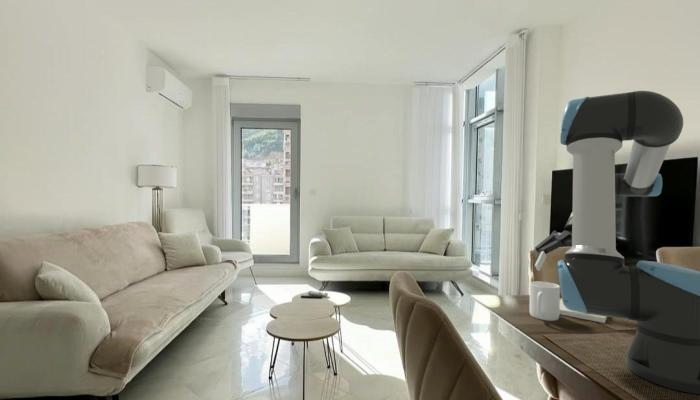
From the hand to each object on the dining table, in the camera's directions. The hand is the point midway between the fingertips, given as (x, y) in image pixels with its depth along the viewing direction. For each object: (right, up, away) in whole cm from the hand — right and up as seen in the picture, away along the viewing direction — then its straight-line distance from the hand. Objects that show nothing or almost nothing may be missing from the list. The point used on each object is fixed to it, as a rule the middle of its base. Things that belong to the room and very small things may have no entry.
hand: (557, 271), depth 114 cm
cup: (-8, -13, -5) cm, 16 cm away
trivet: (+8, -13, +1) cm, 16 cm away
